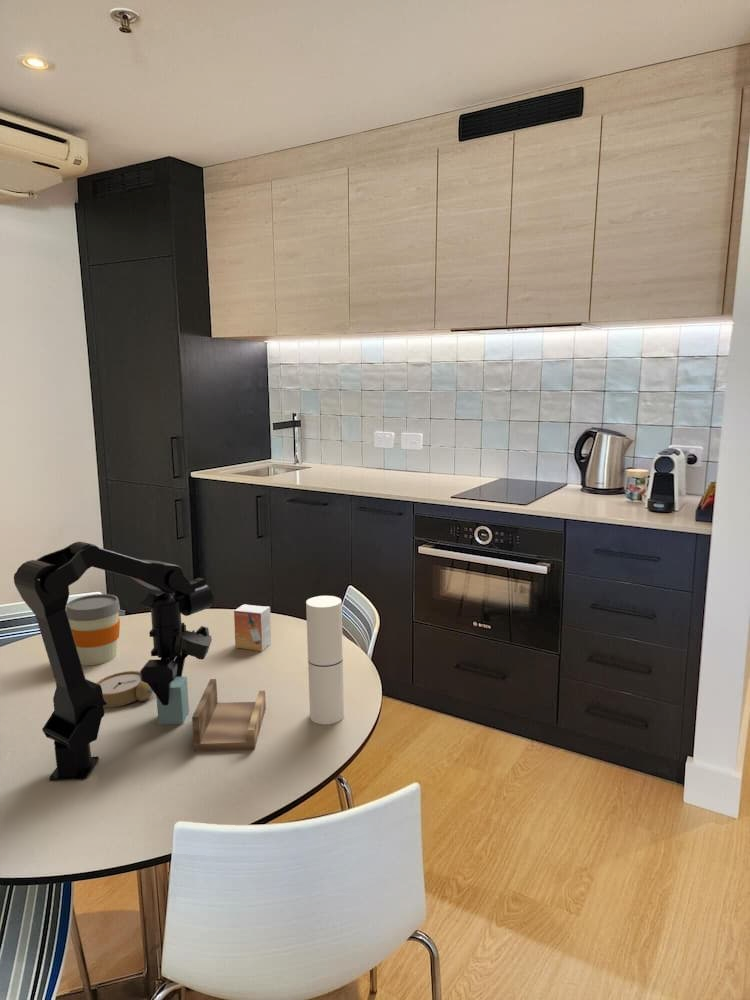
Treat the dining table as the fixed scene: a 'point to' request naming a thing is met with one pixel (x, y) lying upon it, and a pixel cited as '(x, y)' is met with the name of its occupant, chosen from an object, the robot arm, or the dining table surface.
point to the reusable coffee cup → (95, 627)
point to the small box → (252, 627)
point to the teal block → (175, 703)
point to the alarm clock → (124, 688)
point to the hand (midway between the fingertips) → (171, 694)
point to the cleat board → (226, 722)
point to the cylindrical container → (325, 659)
